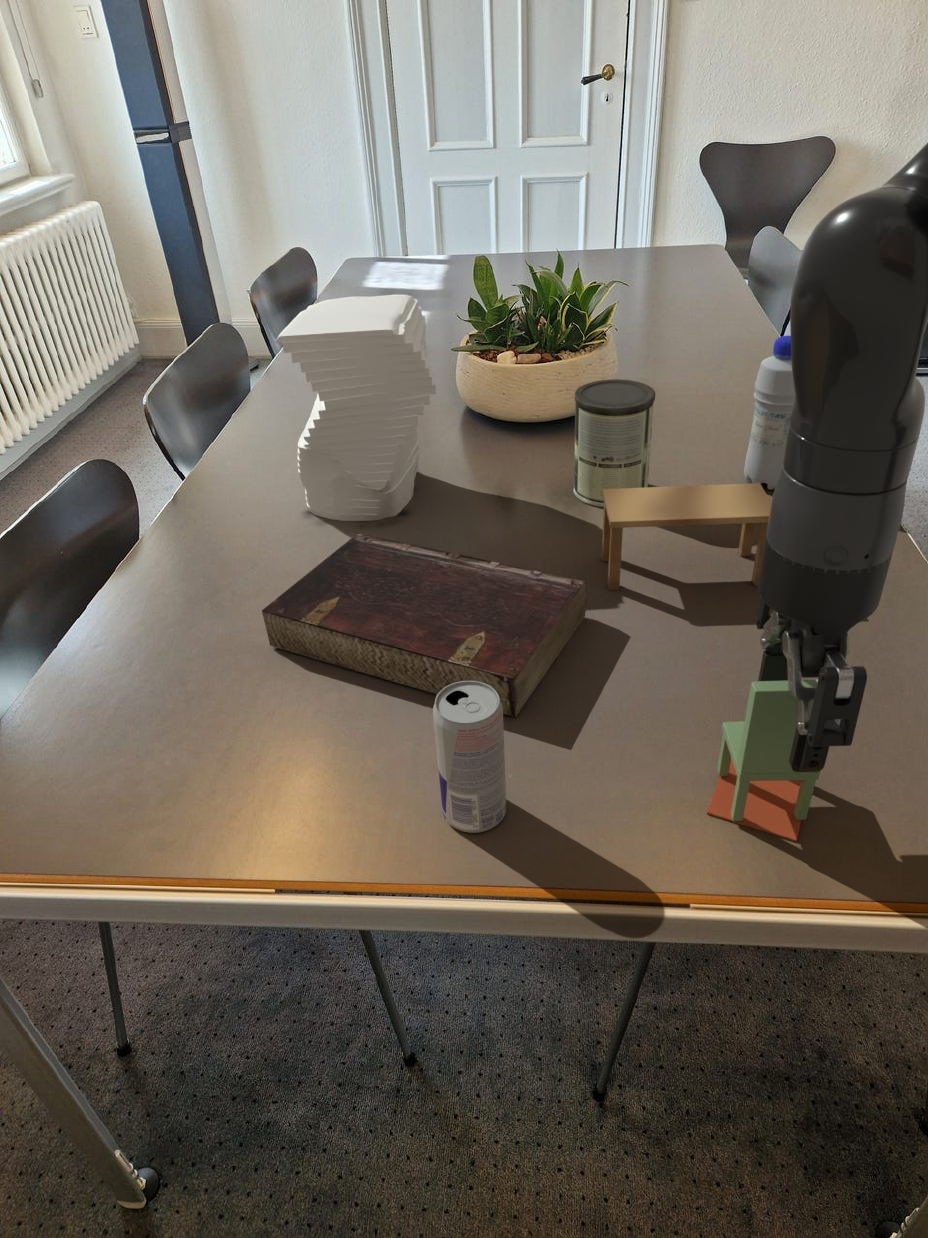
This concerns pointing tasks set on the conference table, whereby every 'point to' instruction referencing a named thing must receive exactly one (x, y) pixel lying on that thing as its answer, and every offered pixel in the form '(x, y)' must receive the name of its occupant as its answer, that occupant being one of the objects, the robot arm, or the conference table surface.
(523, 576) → the hardback book
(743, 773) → the chair
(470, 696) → the energy drink
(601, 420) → the coffee can
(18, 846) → the conference table surface
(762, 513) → the model table
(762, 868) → the conference table surface
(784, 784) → the felt mat
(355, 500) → the paper stack
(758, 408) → the bottle
